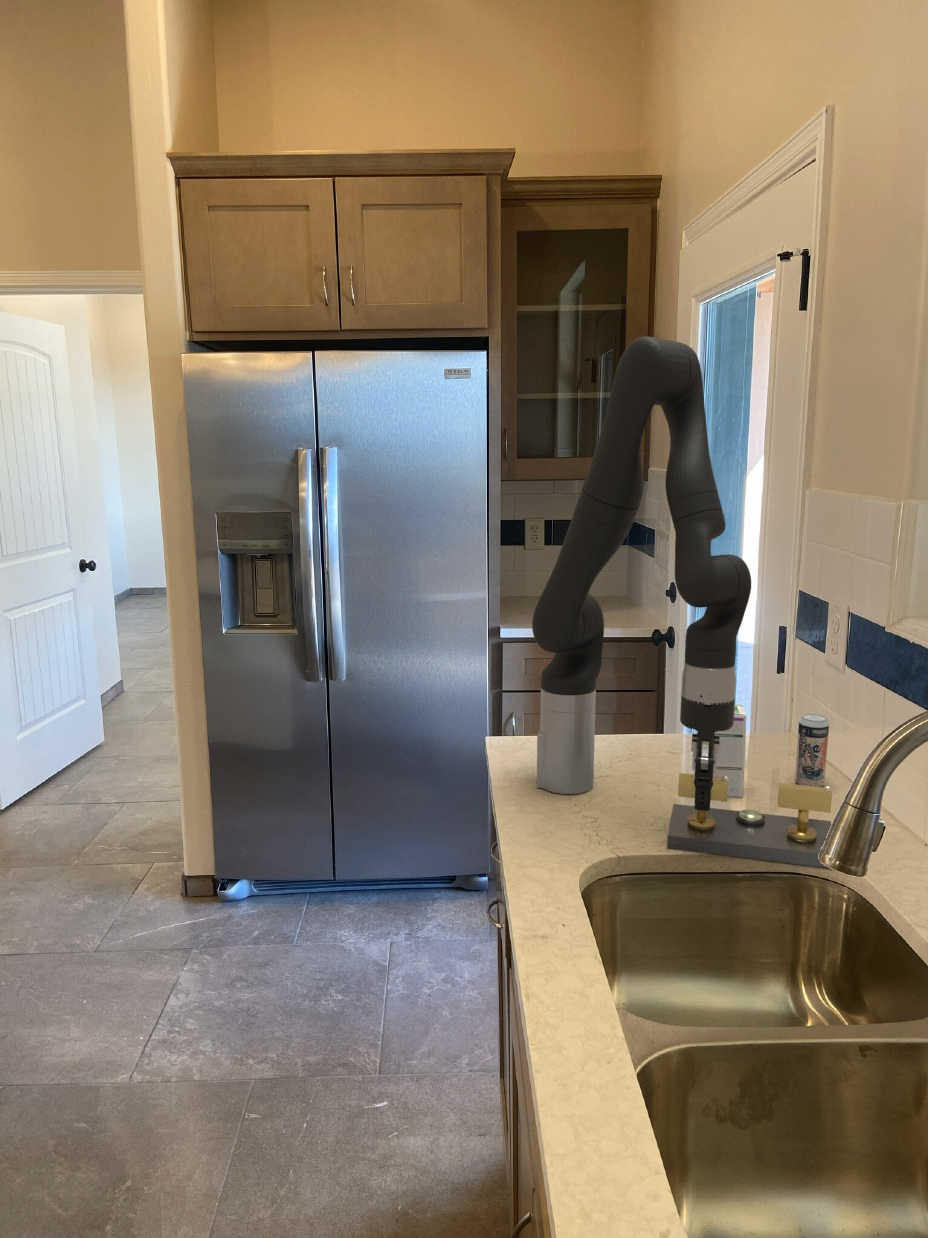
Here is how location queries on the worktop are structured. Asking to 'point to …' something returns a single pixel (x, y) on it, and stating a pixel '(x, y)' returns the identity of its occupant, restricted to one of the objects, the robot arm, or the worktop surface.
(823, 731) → the beer can
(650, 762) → the worktop surface
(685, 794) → the knob
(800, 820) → the knob
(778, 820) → the levelling plate
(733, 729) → the syrup box
